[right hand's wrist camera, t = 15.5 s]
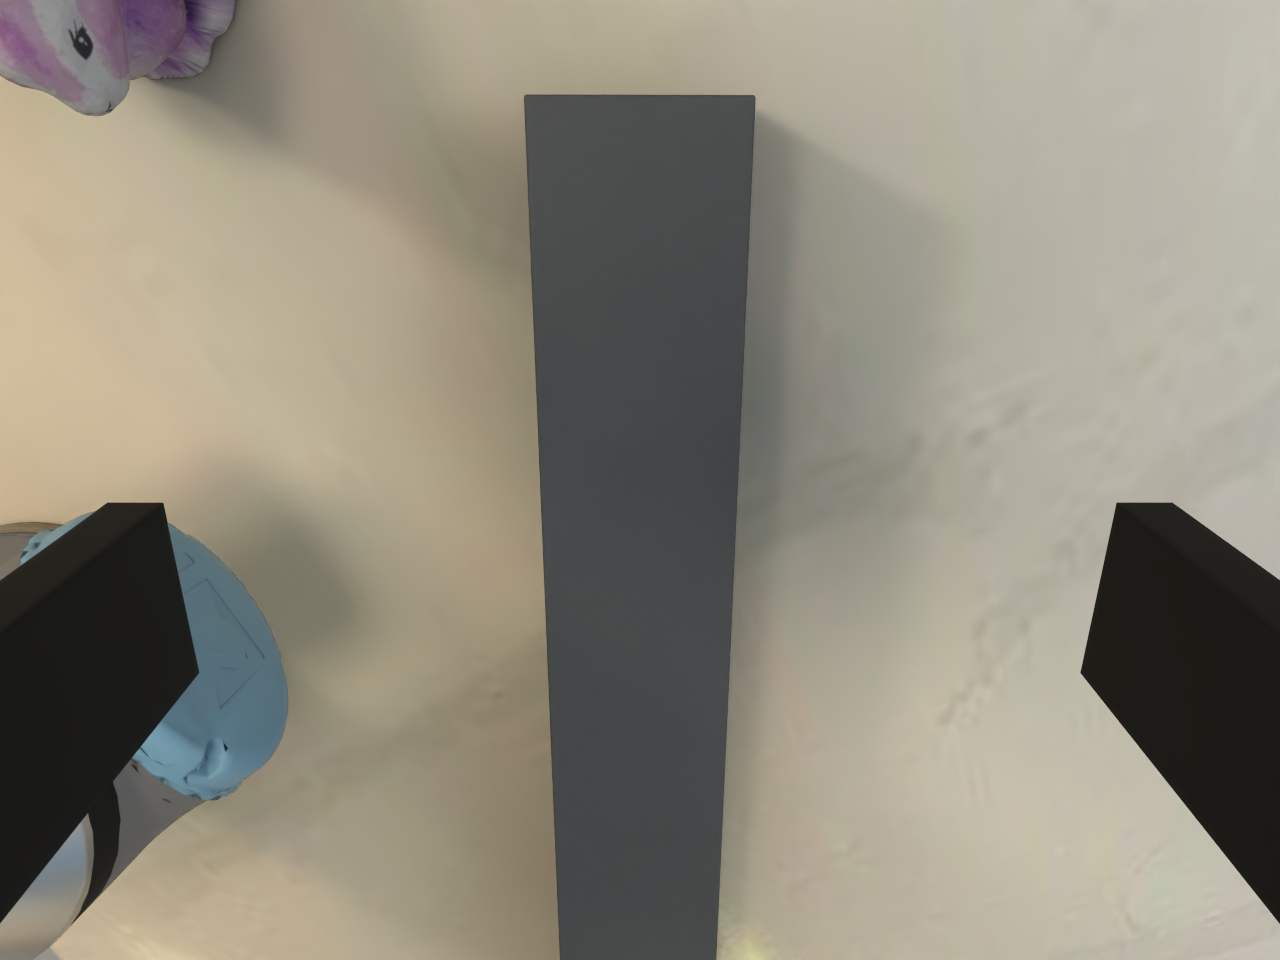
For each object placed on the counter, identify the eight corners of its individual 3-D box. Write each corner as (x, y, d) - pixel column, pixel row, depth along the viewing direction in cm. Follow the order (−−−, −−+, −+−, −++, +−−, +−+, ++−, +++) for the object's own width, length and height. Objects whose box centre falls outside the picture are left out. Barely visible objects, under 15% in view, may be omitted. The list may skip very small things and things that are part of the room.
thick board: (542, 98, 42) (523, 94, 36) (738, 98, 42) (755, 95, 36) (575, 1058, 66) (568, 1162, 60) (700, 1058, 66) (707, 1162, 60)
